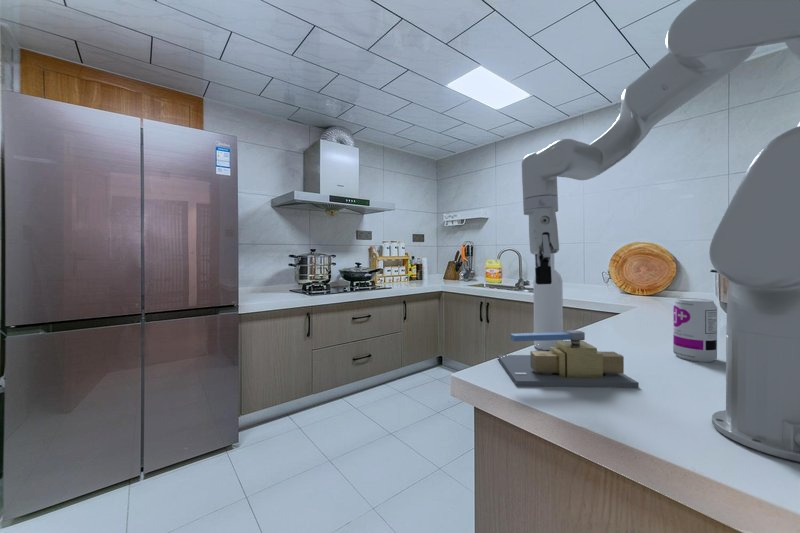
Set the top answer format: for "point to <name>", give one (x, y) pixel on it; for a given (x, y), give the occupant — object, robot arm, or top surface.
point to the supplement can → (695, 329)
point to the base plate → (556, 376)
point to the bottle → (548, 308)
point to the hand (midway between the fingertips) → (543, 283)
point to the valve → (576, 361)
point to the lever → (549, 336)
